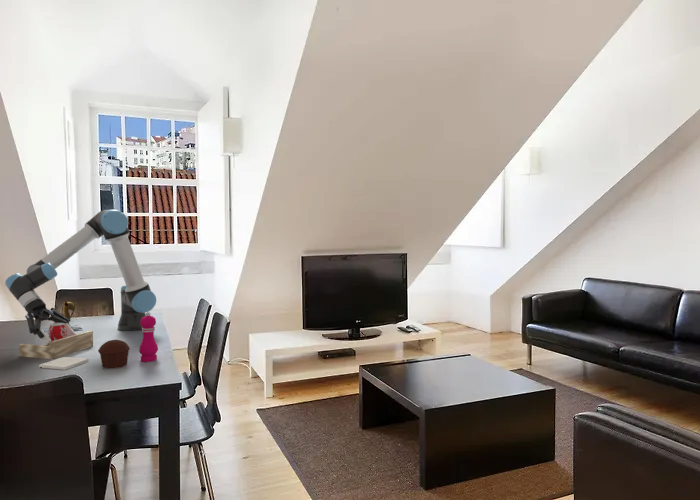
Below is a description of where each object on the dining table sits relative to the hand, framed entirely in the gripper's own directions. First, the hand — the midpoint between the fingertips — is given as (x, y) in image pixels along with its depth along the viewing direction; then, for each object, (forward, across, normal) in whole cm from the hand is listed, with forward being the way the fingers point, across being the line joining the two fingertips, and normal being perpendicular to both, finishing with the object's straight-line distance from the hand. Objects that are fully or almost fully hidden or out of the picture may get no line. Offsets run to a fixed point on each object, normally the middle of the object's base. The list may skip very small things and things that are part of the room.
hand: (61, 339), depth 223 cm
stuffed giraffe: (-20, -36, -28) cm, 50 cm away
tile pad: (+16, +16, +8) cm, 24 cm away
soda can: (+2, 0, -5) cm, 6 cm away
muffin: (+30, +13, +22) cm, 39 cm away
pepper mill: (+36, +2, +28) cm, 45 cm away
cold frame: (+2, 0, -6) cm, 6 cm away
